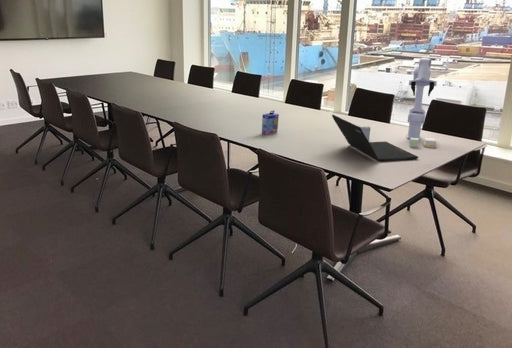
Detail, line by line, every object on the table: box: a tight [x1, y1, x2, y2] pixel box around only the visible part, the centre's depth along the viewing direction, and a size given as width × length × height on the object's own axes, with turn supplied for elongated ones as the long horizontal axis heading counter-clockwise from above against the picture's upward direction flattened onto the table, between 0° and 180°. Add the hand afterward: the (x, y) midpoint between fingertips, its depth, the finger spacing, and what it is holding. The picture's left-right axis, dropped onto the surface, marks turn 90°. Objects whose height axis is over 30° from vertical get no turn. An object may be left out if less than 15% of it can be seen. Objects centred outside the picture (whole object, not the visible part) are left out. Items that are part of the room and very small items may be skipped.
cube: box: [409, 138, 420, 148], centre depth 278 cm, size 4×4×4 cm
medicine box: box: [357, 125, 371, 141], centre depth 287 cm, size 8×4×9 cm, turn 92°
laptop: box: [331, 114, 419, 162], centre depth 260 cm, size 33×38×19 cm
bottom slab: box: [422, 140, 437, 149], centre depth 281 cm, size 7×7×2 cm
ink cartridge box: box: [261, 110, 280, 136], centre depth 295 cm, size 10×6×14 cm, turn 137°
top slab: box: [423, 137, 437, 146], centre depth 280 cm, size 6×6×2 cm
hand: (421, 94), depth 263 cm, fingers open, 7 cm apart
